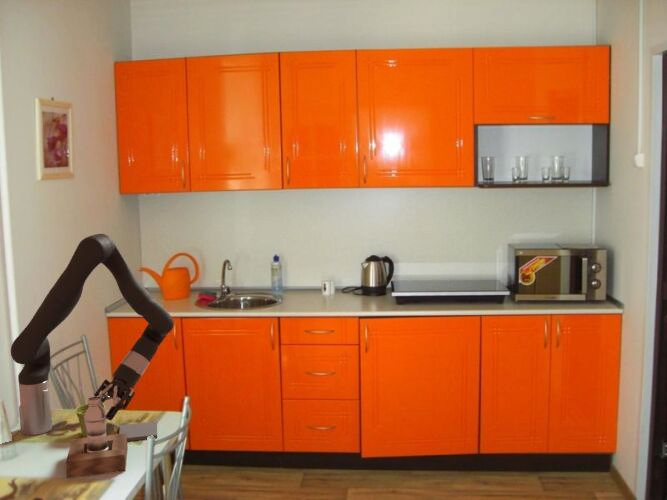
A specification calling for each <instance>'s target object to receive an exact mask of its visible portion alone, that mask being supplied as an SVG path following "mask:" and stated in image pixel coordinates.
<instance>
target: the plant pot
mask: <svg viewBox="0 0 667 500" xmlns="http://www.w3.org/2000/svg"><path fill="white" fill-rule="evenodd" d="M101 406H102V407H103V408H104V409H106V405H105V404H104V403H103V404H102V405H101ZM88 408H89V406H88V403H86V404H82V405H80V406H77V407H76V408H75V410H74V412H75V414H76V416H77V418H78V423H79V426H80V431H81V435H82V436H84V437H87V430H86V425H85V421H84V414H85V412H86V410H87V409H88Z"/></svg>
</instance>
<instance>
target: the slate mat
mask: <svg viewBox="0 0 667 500" xmlns="http://www.w3.org/2000/svg"><path fill="white" fill-rule="evenodd" d="M118 431H119V432H118V434H125V433H127V442H130V441H137V440H138V441H141V440H148V439H147V437H148V436H151V435H153V436H154V437H155V438H154V439H156V438H158V421H157V420H156V421H155V420H154V421H146V422H145V421H144V422H137V423H136V422H134V423H128V424H120V425H119V430H118Z"/></svg>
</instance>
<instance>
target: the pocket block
mask: <svg viewBox="0 0 667 500" xmlns="http://www.w3.org/2000/svg"><path fill="white" fill-rule="evenodd" d="M106 436H107V443H108V447H109V451H100V452H92V453H87V443H88V438H87V437H81V438H72V439H71V443H70V446H69V449H68V453H67V456H66V460H65V469H66V470H65V472H66V479H72V478H80V477H88V476H95V475H96V476H97V475H103V474H111V473H112V474H113V473H118V472H119V473H120V472H121V473H122V472H126V469H127V458H128V451H129V449H128V441H127V433H125V434H119V433H117V434H108V435H107V434H106Z"/></svg>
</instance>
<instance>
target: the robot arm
mask: <svg viewBox="0 0 667 500" xmlns="http://www.w3.org/2000/svg"><path fill="white" fill-rule="evenodd" d="M100 264H102V265H103V266H104V267H105V268H106V269H107V270H109V273H111V274H112V276H113V278H114V280H115V282H116V284H117V287H118V290H119V291H120V294H121V295H122V298H123V299H124V300H125V301H126V303H127V304H128V305H129V307H130V308H131V309H132V310H133V311H134V313H136V314H137V315H138V316H141V317H142V318H143V319H144V320H145V322H147V323H148V324H147V325H146V327H145V329H144V331H143V332H142V333H141V336H140V337H139V338H138V339H137V341H135V343H134V345H133V346H132V347H131V349H130V350H129V351H128V353H127V354H126V355H125V356H124V357H123V359H122V361H120V364H119V365H118V366H117V368H116V369H115V370H114V372H113V374H112V378H113V379H112V381H109V380H108V379H107V378H106V379H104V380H103V382H102V383H101V384H100V386H99V387H98V389H97V390H96V391H95V393H93V394H94V395H93V397H96V396H98V397H101V402H102V404H104V402H106V401H108V400H113V405H112V406H111V407H110V409H109V410H108V411H107V412H106V413H107V414H106V416H105V418H107V421H113V419H114V417H115V416H116V415H117V414H118V412H119V411H120V410H126V409H127V407H128V405H130V403H131V401H132V399H133V397H134V396H135V394H136V392H135V391H134V390H133V389H134V388H135V387H136V385H137V383H139V380H140V379H141V378H142V376H143V374H145V371H146V370H147V368H148V367H149V365H150V362H151V361H152V360H153V358H154V357H155V355H156V353H157V351H158V349H159V347H160V345H161V344H162V343H163V341H164V340H165V338H166V337H167V335H169V334H170V332H171V331H172V330H173V328H174V325H175V323H174V319H173V317H172V316H171V314H170V313H169V312H168V311H167V310H166V309H165V307H164V306H162V305H161V304H160V303H159V302H157V301H156V300H155V299H154V297H153V296H152V295H151V293H149V291H148V290H147V289H146V287H144V285H143V284H142V283H141V281H140V280H139V279H138V278H137V276H136V275H135V273H134V272H133V270H131V267H130V266H129V264H128V263H127V261H126V259H125V258H124V256H123V254H122V253H121V252H120V249H119V248H118V246H117V244H116V243H115V242H114V240H113V239H112V238H111V237H110V236H109V235H107V234H105V233H97V234H91V235H89V236H86V237H85V238H83V239H82V240H81V241H80V242H79V243H78V245H77V247H76V249H75V251H74V253H73V255H72V256H71V259H70V261H69V262H68V264H67V266H66V267H65V269H64V270H63V271H62V273H61V275H60V276H59V277H58V279H57V280H56V282H55V283H54V284H53V286H52V287H51V289H50V290H49V291H48V293H47V294H46V296H45V298H44V299H43V301H42V302H41V304H40V306H39V307H38V309H37V310H36V312H35V313H34V315H33V316H32V318H31V320H30V321H29V322H28V324H27V326H26V327H25V328H24V329H23V330H22V331H21V333H19V335H18V336H17V337H16V338H15V339H14V341H13V342H12V344H11V348H10V355H11V358H12V361H14V362H15V363H17V364H19V365H23V367H22V369H21V370H20V372H19V373H18V377H17V379H18V380H17V381H18V390H19V391H18V393H19V404H20V405H19V407H18V414H19V424H20V427H19V428H20V435H26V436H35V435H42V434H45V433H48V432H50V431H51V430H52V429H53V420H52V407H51V406H52V405H51V392H50V381H49V380H50V379H49V377H50V376H49V374H50V372H51V346H50V341H49V338H48V336H49V335H50V334H51V333H52V332H53V331H55V329H56V328H57V327H59V326H60V325H61V324H62V322H64V321H65V320H66V319H67V318H68V317H69V316H70V314H71V313H72V312H73V310H74V309H75V307H76V306H77V305H78V303H79V301H80V299H81V297H82V295H83V290H84V285H85V283H86V281H87V279H89V276H90V275H91V274H92V273H93V271H94V270H95V269H96V268H97V267H98V265H100ZM102 404H101V405H102Z"/></svg>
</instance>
